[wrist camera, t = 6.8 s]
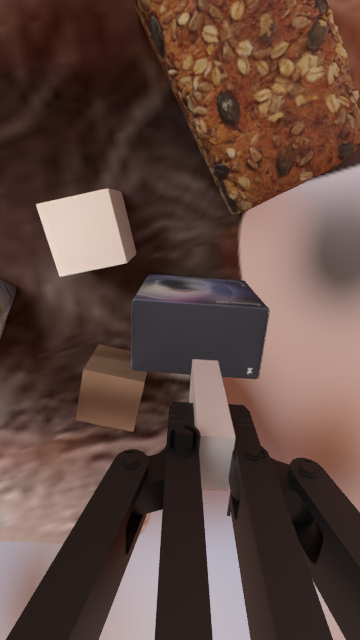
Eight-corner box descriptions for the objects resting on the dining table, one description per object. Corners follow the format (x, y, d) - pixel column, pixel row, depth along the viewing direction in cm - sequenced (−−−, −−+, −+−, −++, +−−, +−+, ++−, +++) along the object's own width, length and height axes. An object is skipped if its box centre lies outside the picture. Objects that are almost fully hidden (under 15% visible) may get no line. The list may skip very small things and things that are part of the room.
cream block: (62, 204, 31) (35, 204, 25) (121, 191, 31) (107, 188, 25) (80, 264, 33) (59, 276, 27) (136, 253, 33) (126, 263, 27)
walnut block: (98, 343, 36) (83, 369, 30) (150, 355, 36) (144, 382, 31) (91, 388, 38) (75, 420, 32) (140, 398, 38) (133, 431, 33)
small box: (247, 276, 33) (274, 305, 23) (239, 334, 35) (261, 383, 26) (146, 269, 33) (130, 296, 23) (144, 328, 35) (129, 375, 25)
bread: (324, 162, 30) (390, 141, 20) (221, 217, 31) (237, 221, 22) (245, -78, 24) (284, -260, 15) (124, 4, 26) (91, -112, 16)
